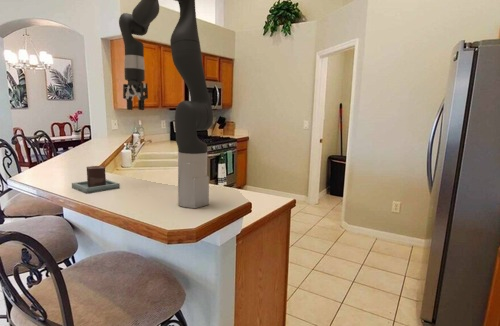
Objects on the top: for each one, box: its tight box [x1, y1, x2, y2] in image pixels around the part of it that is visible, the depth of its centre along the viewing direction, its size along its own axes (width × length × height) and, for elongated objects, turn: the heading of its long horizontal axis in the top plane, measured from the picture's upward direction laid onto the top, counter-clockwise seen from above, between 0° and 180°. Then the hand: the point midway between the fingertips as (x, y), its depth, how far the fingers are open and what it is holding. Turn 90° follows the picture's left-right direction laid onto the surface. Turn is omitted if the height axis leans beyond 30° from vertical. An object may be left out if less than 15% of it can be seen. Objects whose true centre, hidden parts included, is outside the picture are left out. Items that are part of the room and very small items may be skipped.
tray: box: [71, 179, 121, 194], centre depth 120 cm, size 12×12×2 cm
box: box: [86, 165, 107, 187], centre depth 119 cm, size 6×6×7 cm
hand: (135, 109), depth 127 cm, fingers open, 8 cm apart
